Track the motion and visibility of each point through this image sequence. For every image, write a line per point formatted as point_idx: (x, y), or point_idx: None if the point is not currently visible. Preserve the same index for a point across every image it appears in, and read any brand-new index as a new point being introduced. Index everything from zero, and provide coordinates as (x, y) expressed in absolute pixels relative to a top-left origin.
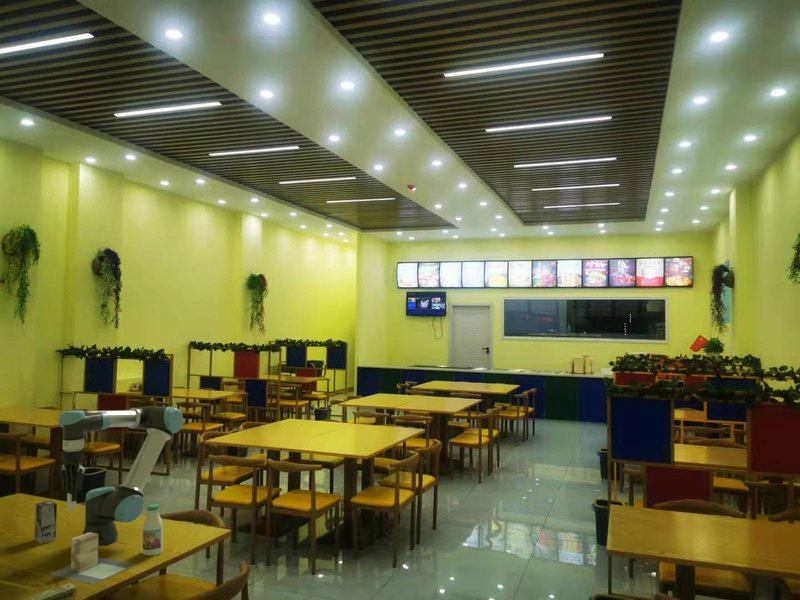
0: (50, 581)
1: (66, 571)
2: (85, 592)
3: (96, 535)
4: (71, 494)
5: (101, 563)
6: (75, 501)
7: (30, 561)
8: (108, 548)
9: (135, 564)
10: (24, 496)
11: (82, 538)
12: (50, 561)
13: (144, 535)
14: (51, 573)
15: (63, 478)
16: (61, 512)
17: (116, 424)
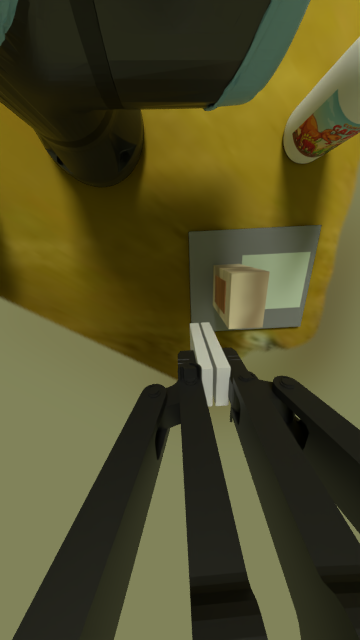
0: None
1: (210, 312)
2: (299, 342)
3: (267, 278)
4: (226, 394)
5: (242, 256)
6: (215, 340)
7: (92, 304)
8: (168, 163)
9: (318, 226)
10: None
11: (255, 316)
12: (126, 287)
13: (339, 135)
14: None
15: (136, 553)
16: None
17: None
